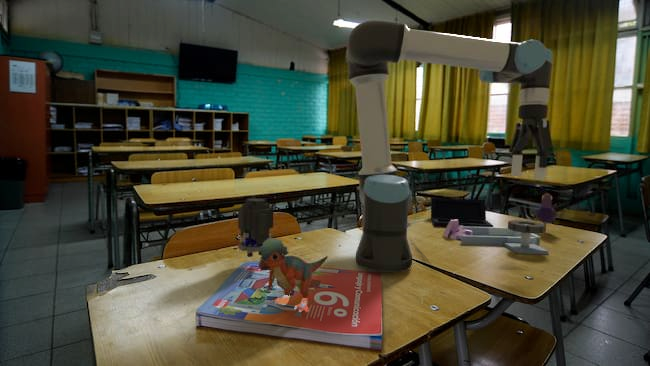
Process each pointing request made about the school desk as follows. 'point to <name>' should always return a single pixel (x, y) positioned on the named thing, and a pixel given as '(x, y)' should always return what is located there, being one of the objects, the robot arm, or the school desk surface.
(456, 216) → the black laptop
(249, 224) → the toy
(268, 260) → the toy
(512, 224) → the wheel
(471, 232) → the letters
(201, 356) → the school desk surface
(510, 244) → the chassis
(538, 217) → the toy
